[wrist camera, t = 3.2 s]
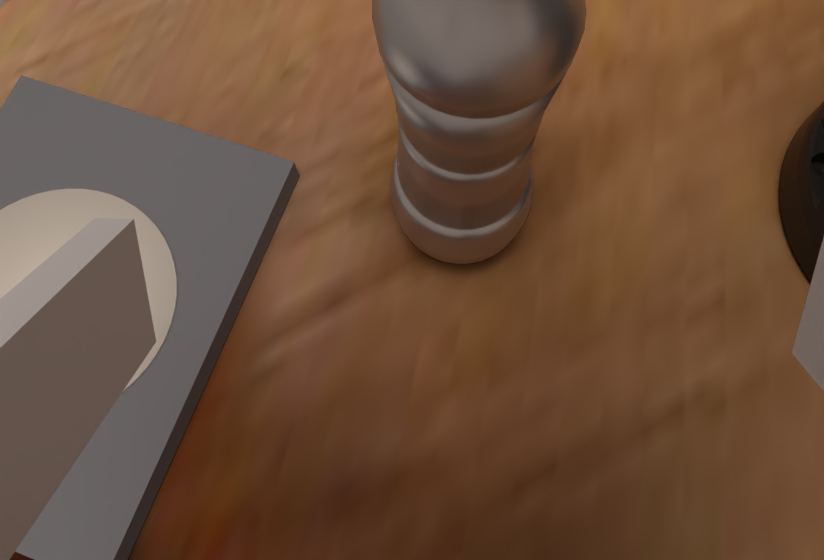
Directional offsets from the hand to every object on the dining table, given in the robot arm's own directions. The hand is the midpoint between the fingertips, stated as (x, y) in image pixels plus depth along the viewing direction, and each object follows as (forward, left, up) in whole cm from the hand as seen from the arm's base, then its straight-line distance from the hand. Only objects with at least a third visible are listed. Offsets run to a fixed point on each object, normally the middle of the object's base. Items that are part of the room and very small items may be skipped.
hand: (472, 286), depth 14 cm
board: (+12, -14, -19) cm, 26 cm away
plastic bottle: (-6, -8, -19) cm, 22 cm away
